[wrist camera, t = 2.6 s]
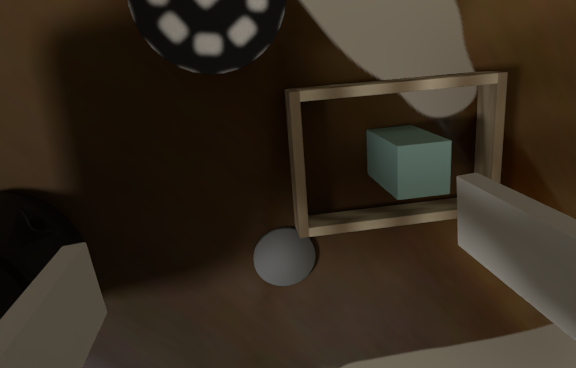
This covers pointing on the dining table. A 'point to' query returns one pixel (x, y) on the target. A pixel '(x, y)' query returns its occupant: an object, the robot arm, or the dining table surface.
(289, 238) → the coaster
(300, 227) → the tray
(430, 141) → the block
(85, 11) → the dining table surface
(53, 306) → the robot arm
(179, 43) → the white-spotted black cylinder
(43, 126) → the dining table surface
